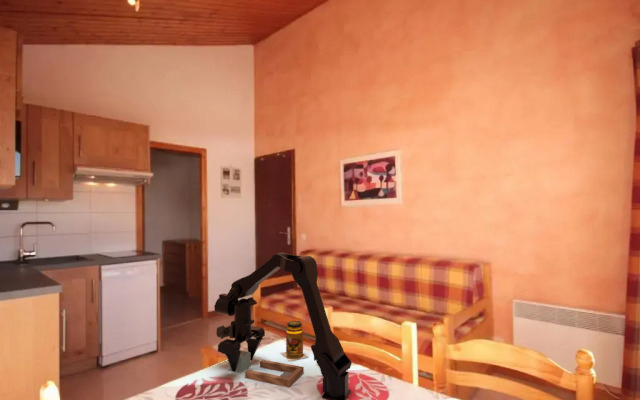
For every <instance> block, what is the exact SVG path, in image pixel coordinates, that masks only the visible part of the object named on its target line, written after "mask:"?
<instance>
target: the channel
mask: <svg viewBox="0 0 640 400" xmlns="http://www.w3.org/2000/svg"><path fill="white" fill-rule="evenodd" d="M259 368H262V369H267V370H272V371H279V372H282V373H283V372H285V371H286V372H292V373H291V374H290V375H289V376H288V377H283V376H280V375H277V374H273V373H268V372H262V371H258V370H257V371H256V370H252V369H247V370H246V371H244V379H248V380H252V381H257V382H263V383H266V384H267V383H268V384H272V385H276V386H277V385H278V386H282V387H285V388H286V387H287V388H290V387H291V386H292V385H293V384H294V383H295V382H296V381H297V380H298V379H299V378H301V377H302V376H303V374H304V368H305V367H304V366H301V365H295V364H289V363H284V362H278V361H272V360H267V359H263V358H262V359H261V360H260V361H259Z"/></svg>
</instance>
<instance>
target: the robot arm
mask: <svg viewBox="0 0 640 400" xmlns="http://www.w3.org/2000/svg"><path fill="white" fill-rule="evenodd" d="M280 269H281V270H283V271H284V272H288V273H290V274H291V277H292V278H293V280H294V282H295V283H296V284H297V286H298V287H299V288H300V289H301V291H302V294H303V295H302V296H303V299H304V303H305V305H306V309H307V312H308V316H309V319H310V322H311V326H312V328H313V332H314V336H315V341H314V343H313V344H310V349H311V351H312V354H313V361H315V362H316V364H317V366H318V367H319V371H320V374H321V376H322V393H323V394H322V395H321V397H322V399H326V400H347V398H348V397H349V395H350V394H351V389H349V375H350V374H349V372H350V371H349V370H350V369H351V366H352V361H351V359H350V358H349V357H348V355H347V354H346V353H345V351H344V348H343V346H342V344H341V341H340V340H339V338H338V337H337V336H336V335H335V334H334V332H333V331H332V329H331V325H330V322H329V319H328V316H327V313H326V310H325V306H324V302H323V299H322V296H321V293H320V290H319V287H318V277H319V276H318V275H319V272H318V271H319V270H318V264H317V261H316V258H314V257H312V256H311V255H305V256H302V255H296V254H290V253H286V252H277V253H274V254H273V255H272V257H270V258H269V259H268V260H266V262H263V264H261V266H259V267H258V268H257V269H255V270H253V271H252V272H251V273H250V274H248V275H245V276H243V277H241V278H239V279H237V280H235V281H233V282H232V283H231V285H230V286H231V288H230V289H229V291H228V292H227V293H221V294H218V298H217V300H216V302H215V303H214V311H215V313H216V314H219V315H224V316H229V317H231V316H232V317H233V320H232V321H231V322H230V324H229V325H225V326H224V325H221V326H218V327H216V333H215V334H216V336H217V338H220V339H221V340H222V339H224V340H222V341H221V342H219V343H218V344H217V353H221V354H223V355H225V356H226V358H227V361H228V364H229V363H230V366H231V369H232V371H231V372H233V371H234V373H236V372H235V371H236V368H237V365H238V361H239V357H240V353H241V351H242V350H241V348H242V346H241V344H243V343H244V342H246V344H247V352H251V358H250V362H251V361H252V360H253V359H254V357H255V354H256V352H257V350H258V347H259V346H260V344H261V341H262V340H263V337H265V336H266V335H265V334H266V333H265V332H266V331H265V329H264V327H261V326H254V325H253V324H255V319H252V318H253V317H252V310H253V309H252V307H253V306H255V305H257V304H258V302H257V300H256V299H254V297H253V294H254V293H255V292H256V291H257V290H258V289H259V286H260V285H261V283H263V282H264V281H265V280H267V279H268V278H269V277H271V276H273V274H275V273H276V272H278V271H279V270H280ZM248 296H251V297H248ZM245 297H247V298H245ZM227 337H229V338H227ZM225 338H226V339H225ZM239 350H241V351H239Z"/></svg>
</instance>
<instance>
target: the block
mask: <svg viewBox="0 0 640 400" xmlns="http://www.w3.org/2000/svg"><path fill="white" fill-rule="evenodd" d="M239 351H241V353H240V357H239V361H238V365H237V368H236V371H235V372H234V371H232V369H231V366H230V363H229V362H228V371H229V372H232V373H233V372H234V373H239V374H242V373H245V371H246V370H249V369H251V361H250V358H251V352H248V350H247V351H246V350H241V349H240V350H239Z"/></svg>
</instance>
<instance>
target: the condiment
mask: <svg viewBox="0 0 640 400" xmlns="http://www.w3.org/2000/svg"><path fill="white" fill-rule="evenodd" d="M286 326H287V327H286V328H287V330H286V331H285V333H286V335H285V338H286V340H285V345H286V347H285V352H280V354H281V355H282V356H283V357H284V358H285V359H286V360H287V361H288V362H291V361H292V362H293V361H298V360H301V359H305V358H308V356H307V355H306V354H305V353H304V331H303V327H302V326H303V324H302V322H301V321H300V320H291V321H288V322H287V324H286Z"/></svg>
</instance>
